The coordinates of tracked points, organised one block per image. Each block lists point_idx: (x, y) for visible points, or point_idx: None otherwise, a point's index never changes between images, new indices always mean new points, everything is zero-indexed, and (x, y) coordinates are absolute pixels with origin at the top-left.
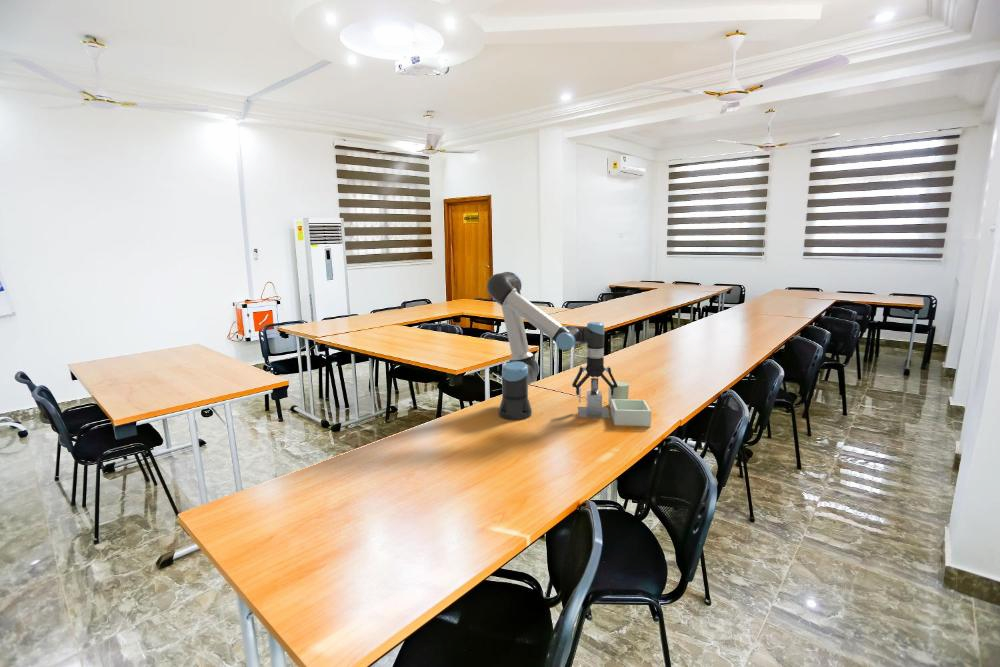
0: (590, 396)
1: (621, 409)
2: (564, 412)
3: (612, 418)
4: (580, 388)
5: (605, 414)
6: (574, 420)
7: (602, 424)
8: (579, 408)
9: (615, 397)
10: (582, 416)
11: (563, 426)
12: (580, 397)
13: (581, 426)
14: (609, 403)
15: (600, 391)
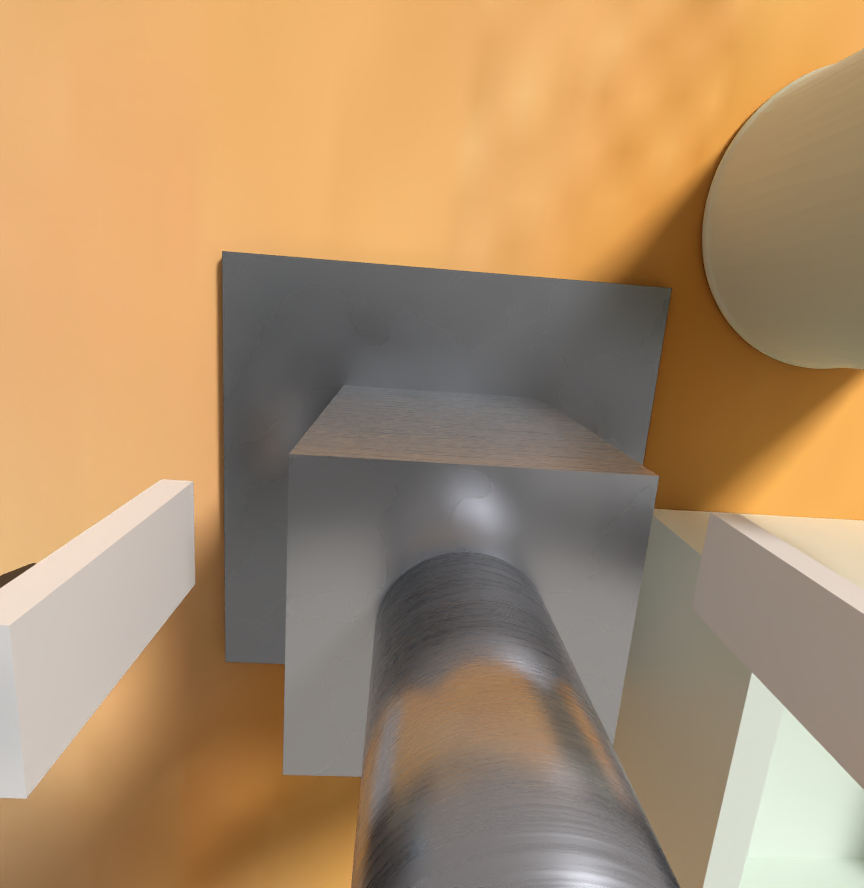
0: (349, 756)
1: None
2: (30, 465)
3: None
4: (18, 763)
5: None
6: (166, 727)
7: None
8: (246, 338)
9: None
10: (266, 641)
11: (43, 885)
12: (151, 636)
13: (238, 876)
14: (737, 234)
15: (649, 489)
